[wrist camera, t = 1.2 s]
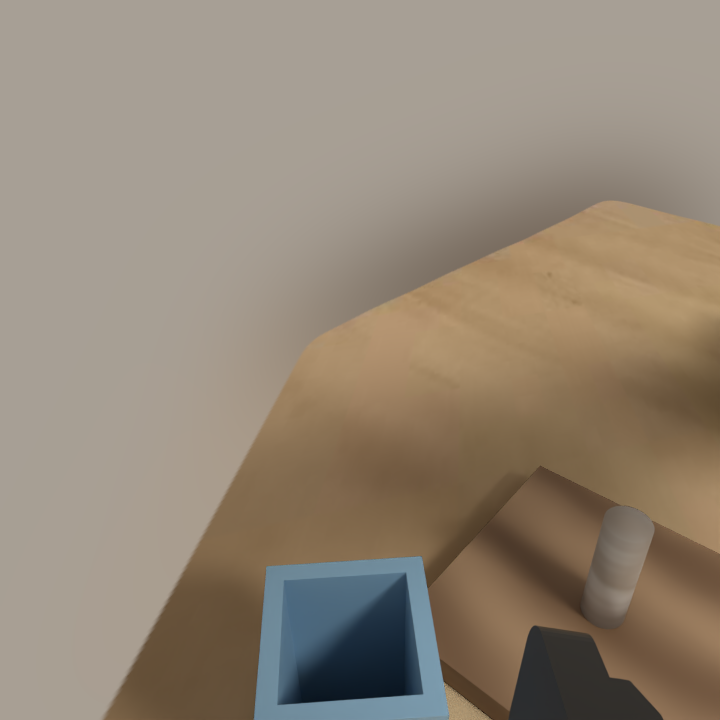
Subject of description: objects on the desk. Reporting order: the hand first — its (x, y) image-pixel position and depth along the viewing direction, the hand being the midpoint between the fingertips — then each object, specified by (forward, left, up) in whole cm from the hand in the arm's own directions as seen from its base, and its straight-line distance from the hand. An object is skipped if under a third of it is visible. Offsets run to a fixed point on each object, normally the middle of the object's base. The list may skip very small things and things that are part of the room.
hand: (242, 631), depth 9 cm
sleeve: (-5, -3, -20) cm, 21 cm away
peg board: (-18, +1, -20) cm, 27 cm away
